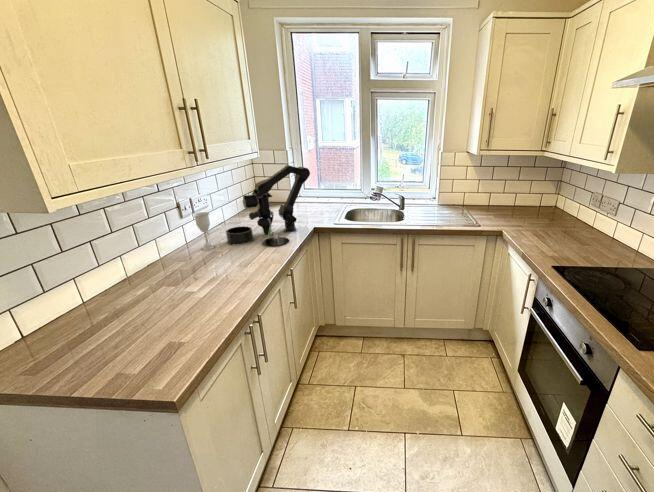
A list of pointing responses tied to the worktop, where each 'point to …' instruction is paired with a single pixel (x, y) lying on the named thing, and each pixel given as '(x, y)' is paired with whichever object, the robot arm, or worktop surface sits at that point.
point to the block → (268, 232)
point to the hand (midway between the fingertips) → (267, 232)
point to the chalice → (203, 227)
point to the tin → (239, 235)
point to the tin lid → (275, 241)
